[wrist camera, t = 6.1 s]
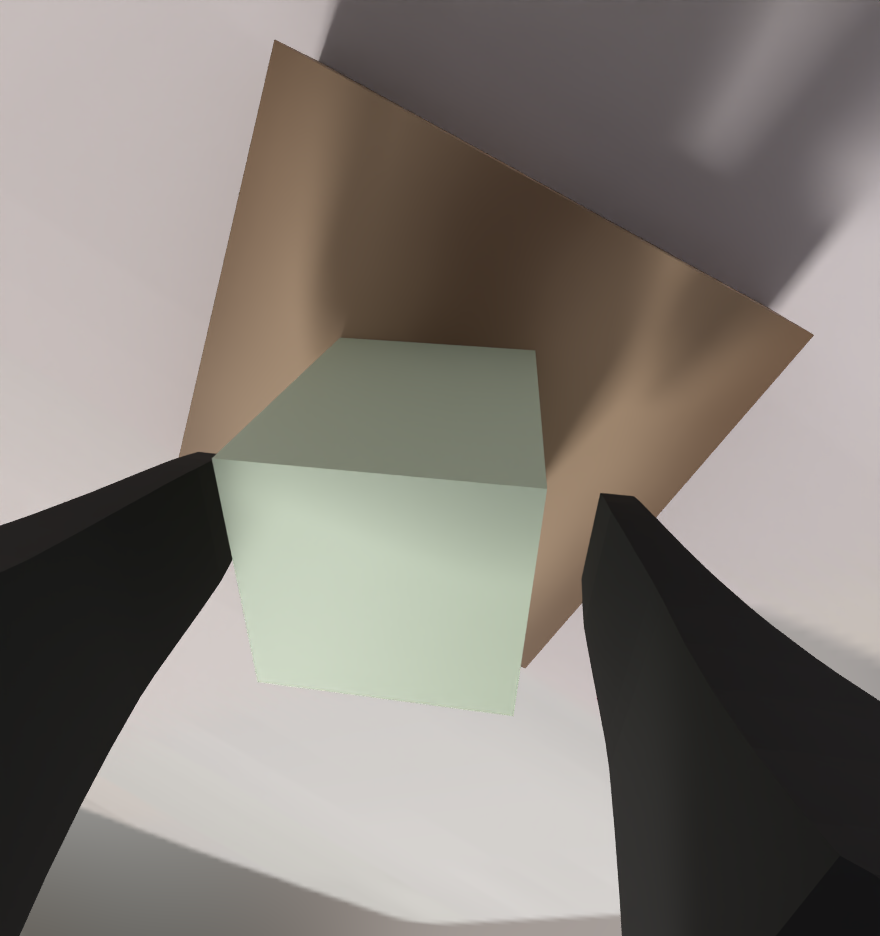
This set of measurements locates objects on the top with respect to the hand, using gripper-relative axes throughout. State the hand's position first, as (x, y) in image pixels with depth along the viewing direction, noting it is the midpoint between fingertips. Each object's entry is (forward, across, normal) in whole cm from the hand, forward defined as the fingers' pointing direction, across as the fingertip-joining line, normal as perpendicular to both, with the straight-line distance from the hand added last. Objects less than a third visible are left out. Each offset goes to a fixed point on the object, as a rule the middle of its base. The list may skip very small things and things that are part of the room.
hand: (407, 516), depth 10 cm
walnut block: (+6, 0, 0) cm, 6 cm away
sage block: (+3, 0, 0) cm, 4 cm away
